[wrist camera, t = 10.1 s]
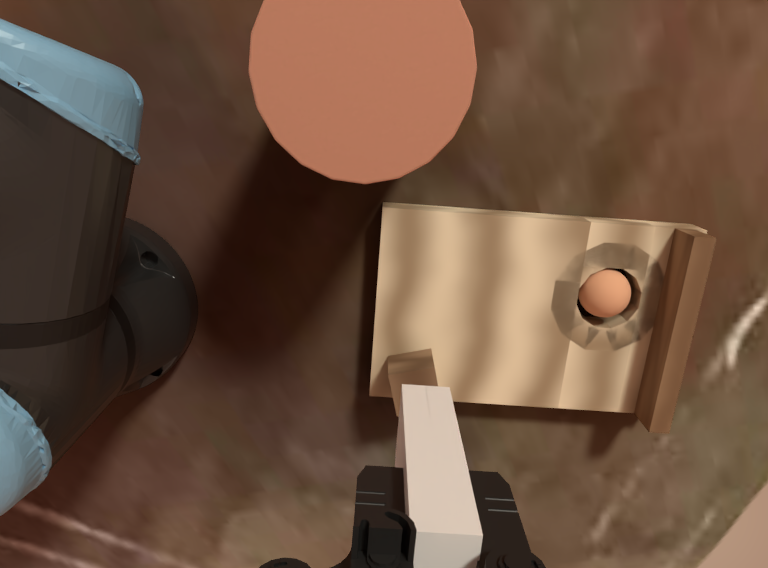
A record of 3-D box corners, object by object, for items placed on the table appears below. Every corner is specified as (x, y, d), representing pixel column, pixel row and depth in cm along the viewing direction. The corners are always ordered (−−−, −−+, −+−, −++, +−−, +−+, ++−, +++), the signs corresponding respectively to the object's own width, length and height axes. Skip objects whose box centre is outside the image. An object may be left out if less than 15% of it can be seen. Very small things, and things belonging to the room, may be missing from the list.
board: (370, 382, 52) (368, 414, 46) (382, 202, 47) (382, 214, 42) (650, 400, 52) (680, 434, 47) (690, 223, 47) (729, 239, 42)
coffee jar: (470, 63, 44) (525, 38, 27) (388, 181, 46) (390, 227, 29) (352, -28, 42) (329, -118, 25) (274, 100, 45) (204, 98, 27)
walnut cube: (396, 394, 49) (396, 416, 46) (387, 355, 48) (388, 375, 45) (438, 387, 49) (442, 408, 46) (431, 348, 48) (434, 367, 44)
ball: (592, 312, 50) (565, 314, 47) (597, 265, 50) (570, 265, 47) (637, 319, 47) (612, 322, 44) (643, 270, 47) (617, 270, 44)
